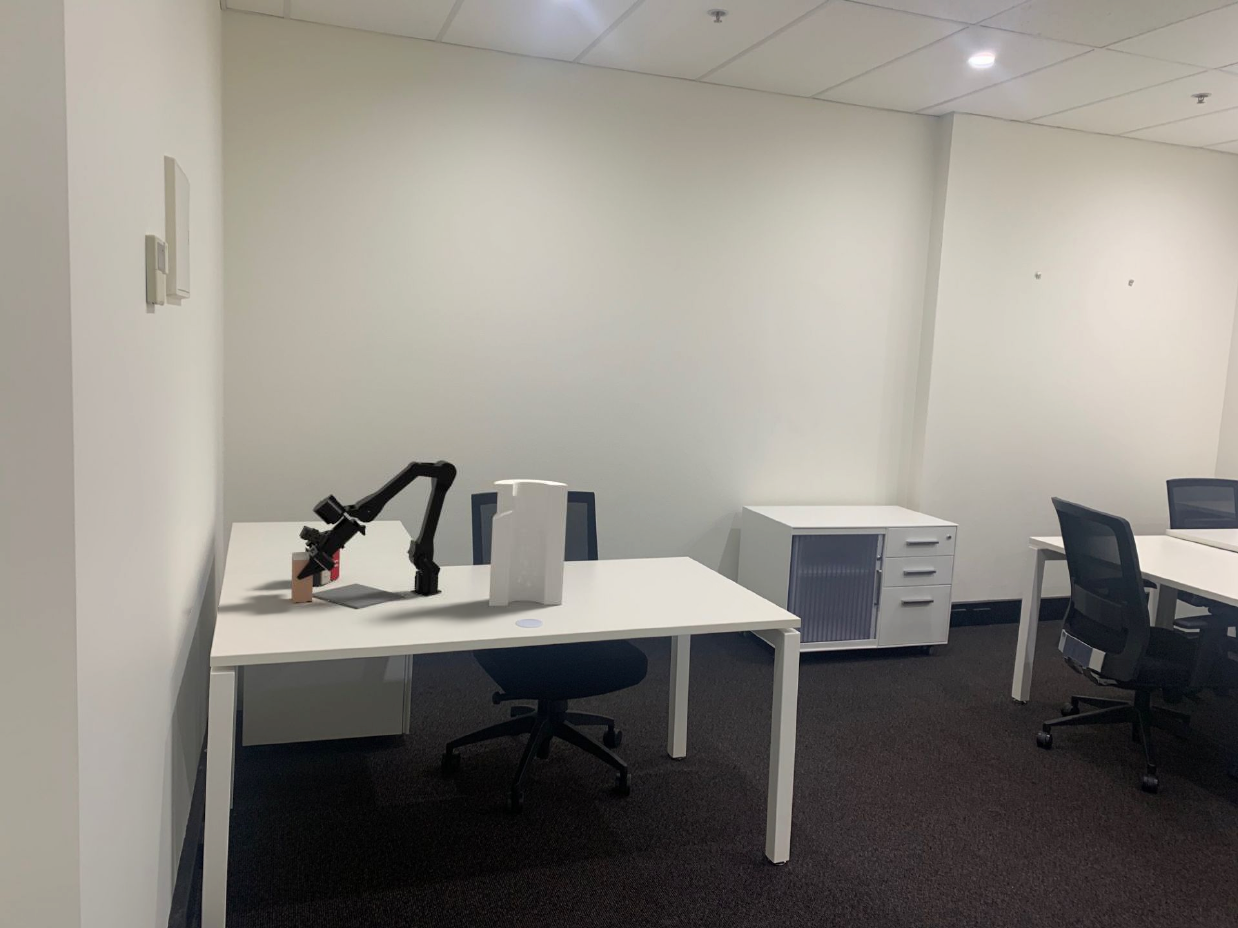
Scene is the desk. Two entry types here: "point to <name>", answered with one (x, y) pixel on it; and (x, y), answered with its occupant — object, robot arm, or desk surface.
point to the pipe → (528, 542)
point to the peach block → (303, 587)
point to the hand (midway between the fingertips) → (296, 576)
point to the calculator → (326, 575)
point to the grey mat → (357, 595)
